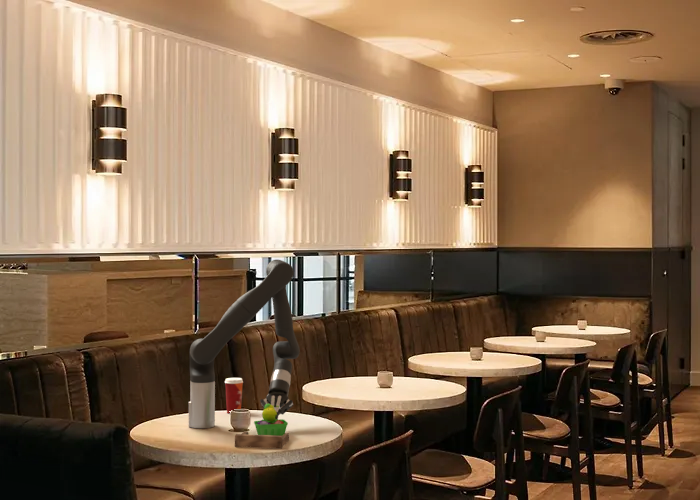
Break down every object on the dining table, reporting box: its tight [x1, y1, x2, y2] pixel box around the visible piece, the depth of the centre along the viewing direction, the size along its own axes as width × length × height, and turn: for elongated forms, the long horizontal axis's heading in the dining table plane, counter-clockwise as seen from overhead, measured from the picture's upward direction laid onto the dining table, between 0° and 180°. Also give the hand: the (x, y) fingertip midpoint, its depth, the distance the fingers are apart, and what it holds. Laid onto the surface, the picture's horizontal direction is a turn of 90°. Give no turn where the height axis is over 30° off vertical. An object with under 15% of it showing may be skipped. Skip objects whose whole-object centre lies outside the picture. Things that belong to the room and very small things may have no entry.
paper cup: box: [224, 377, 244, 415], centre depth 395 cm, size 8×8×14 cm
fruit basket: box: [253, 403, 289, 436], centre depth 353 cm, size 11×9×11 cm
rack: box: [234, 430, 290, 449], centre depth 340 cm, size 16×14×4 cm
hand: (273, 422), depth 358 cm, fingers closed
